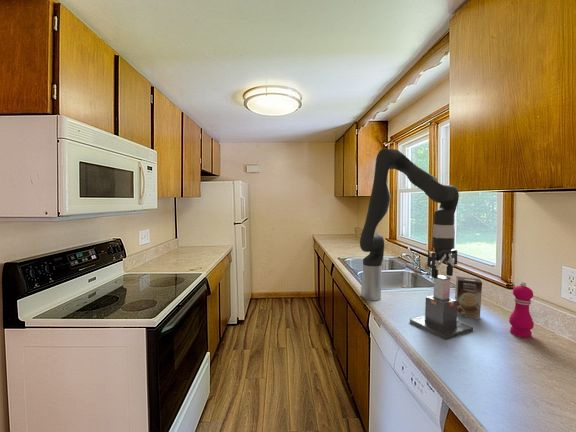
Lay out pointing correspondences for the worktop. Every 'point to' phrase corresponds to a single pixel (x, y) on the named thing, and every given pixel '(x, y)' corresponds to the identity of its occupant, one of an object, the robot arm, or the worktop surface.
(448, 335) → the grey square socket base
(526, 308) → the pepper mill
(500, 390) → the worktop surface
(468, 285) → the coffee box
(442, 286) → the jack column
